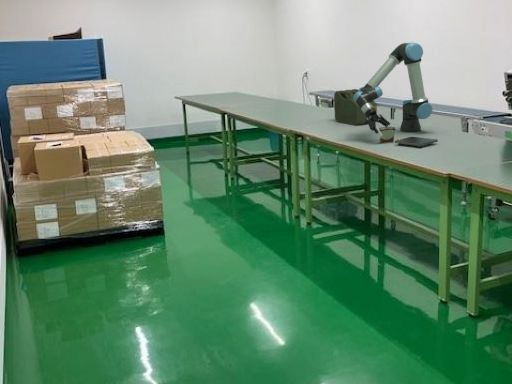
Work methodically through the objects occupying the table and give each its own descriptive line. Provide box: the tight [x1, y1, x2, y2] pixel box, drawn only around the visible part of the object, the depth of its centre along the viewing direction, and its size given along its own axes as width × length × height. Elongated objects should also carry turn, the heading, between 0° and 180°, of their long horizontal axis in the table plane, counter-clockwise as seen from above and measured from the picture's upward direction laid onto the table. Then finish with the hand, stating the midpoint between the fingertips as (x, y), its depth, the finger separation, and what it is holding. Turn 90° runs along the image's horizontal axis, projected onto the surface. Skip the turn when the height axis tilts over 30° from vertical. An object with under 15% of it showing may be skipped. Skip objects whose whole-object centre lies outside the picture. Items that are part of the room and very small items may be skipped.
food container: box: [378, 126, 396, 144], centre depth 361 cm, size 12×6×10 cm, turn 102°
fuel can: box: [333, 88, 378, 126], centre depth 452 cm, size 19×35×27 cm, turn 24°
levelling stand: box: [394, 136, 439, 149], centre depth 348 cm, size 18×20×4 cm
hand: (386, 135), depth 359 cm, fingers closed on food container, 11 cm apart
